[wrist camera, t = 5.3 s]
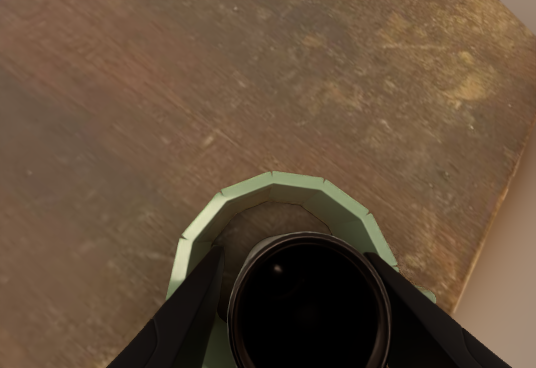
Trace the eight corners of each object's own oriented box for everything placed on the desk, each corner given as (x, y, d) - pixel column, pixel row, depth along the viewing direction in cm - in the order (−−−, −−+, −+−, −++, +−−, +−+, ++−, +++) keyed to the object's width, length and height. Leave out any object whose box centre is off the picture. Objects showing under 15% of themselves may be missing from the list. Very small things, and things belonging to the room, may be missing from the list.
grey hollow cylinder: (264, 225, 16) (276, 203, 7) (318, 255, 16) (418, 280, 6) (233, 282, 15) (191, 362, 5) (290, 316, 15) (358, 465, 5)
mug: (183, 346, 14) (140, 409, 9) (215, 184, 17) (196, 159, 12) (388, 371, 15) (464, 448, 9) (386, 208, 17) (444, 194, 12)
